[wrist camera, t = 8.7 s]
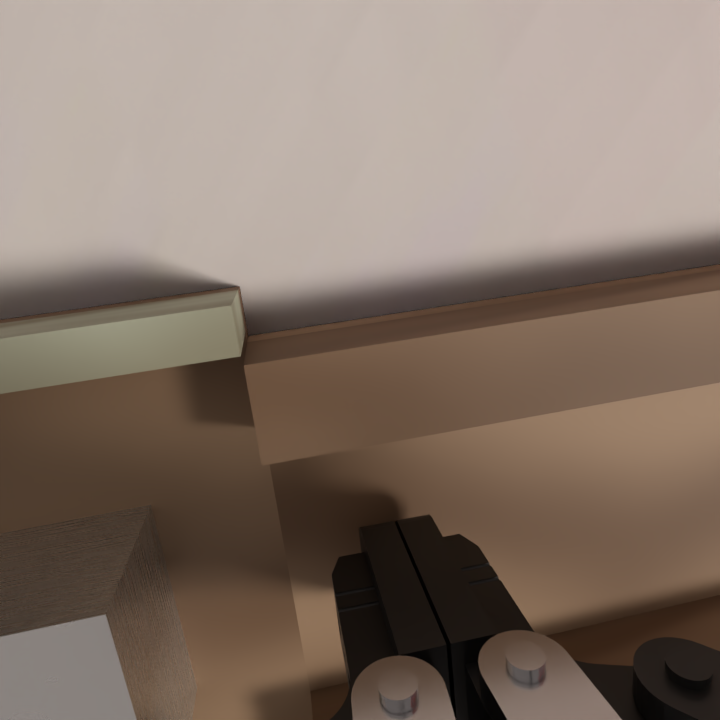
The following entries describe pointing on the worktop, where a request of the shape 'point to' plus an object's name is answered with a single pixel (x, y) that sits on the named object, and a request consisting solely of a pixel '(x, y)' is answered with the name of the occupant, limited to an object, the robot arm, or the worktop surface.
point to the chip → (91, 623)
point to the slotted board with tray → (384, 462)
